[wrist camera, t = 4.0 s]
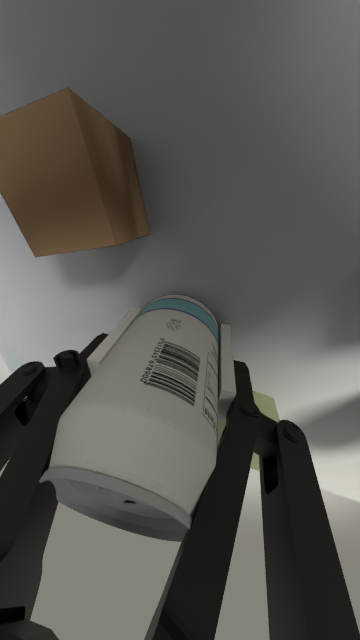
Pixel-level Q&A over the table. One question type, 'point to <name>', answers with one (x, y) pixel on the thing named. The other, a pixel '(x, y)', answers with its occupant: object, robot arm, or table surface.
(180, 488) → the beverage can
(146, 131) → the table surface
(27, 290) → the table surface
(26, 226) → the walnut block
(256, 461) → the olive block
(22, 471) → the robot arm
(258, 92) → the table surface
